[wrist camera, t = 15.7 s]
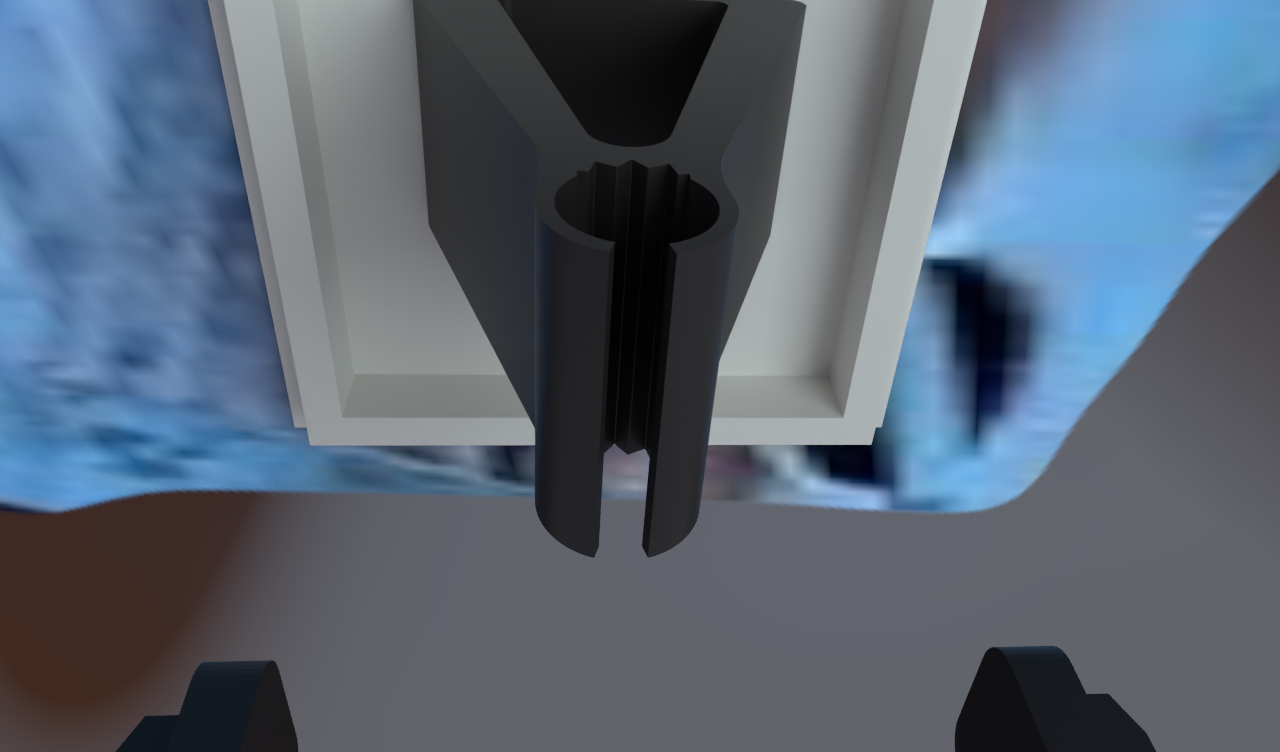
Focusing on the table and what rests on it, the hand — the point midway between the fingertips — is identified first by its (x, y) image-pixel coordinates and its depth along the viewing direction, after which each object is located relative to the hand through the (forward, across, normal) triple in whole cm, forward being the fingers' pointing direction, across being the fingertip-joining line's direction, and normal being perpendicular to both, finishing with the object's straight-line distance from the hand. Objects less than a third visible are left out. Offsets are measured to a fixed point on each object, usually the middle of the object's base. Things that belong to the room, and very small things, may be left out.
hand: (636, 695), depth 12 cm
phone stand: (+17, 0, 0) cm, 17 cm away
